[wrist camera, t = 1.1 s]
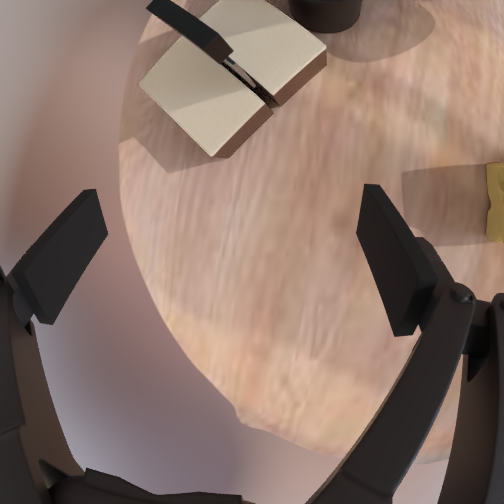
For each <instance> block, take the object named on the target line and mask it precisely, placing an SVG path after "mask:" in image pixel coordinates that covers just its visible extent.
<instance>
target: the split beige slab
mask: <svg viewBox="0 0 504 504" xmlns="http://www.w3.org/2000/svg"><path fill="white" fill-rule="evenodd" d="M199 20H201V21H202V22H204V23H205V24H206V25H208V26H209V27H211V28H212V29H213V30H215V31H216V32H218V33H219V34H220V35H221V36H222V38H223V39H224V40H225V41H226V42H227V43H228V44H229V46H230V47H231V48H232V49H233V50H234V51H233V52H232V53H231V54H230V55H229V57H230V58H231V59H232V60H234V61H235V62H236V63H237V64H238V65H239V66H240V67H241V69H242V70H243V71H244V72H245V73H246V74H247V75H248V76H249V78H250V79H251V80H252V81H253V82H254V83H255V84H256V85H257V86H259V87H260V88H261V89H262V90H263V91H264V92H265V93H266V94H267V95H269V96H270V97H271V98H272V99H273V100H274V101H275V102H276V103H277V104H278V105H279V106H282V105H283V104H284V103H285V102H286V101H287V100H288V99H289V98H291V97H292V96H293V95H294V94H295V93H296V92H297V91H298V90H299V89H300V88H301V87H303V86H304V85H305V84H306V83H307V82H308V81H309V80H310V79H312V78H313V77H314V76H315V75H316V74H317V73H318V72H319V71H321V70H322V69H323V68H324V67H325V66H326V65H327V57H326V45H325V44H324V43H322V42H321V41H320V40H319V39H318V38H316V37H315V36H314V35H312V34H311V33H310V32H309V31H307V30H306V29H305V28H303V27H302V26H301V25H299V24H298V23H297V22H295V21H294V20H293V19H291V18H290V17H288V16H287V15H286V14H284V13H283V12H281V11H280V10H279V9H277V8H276V7H274V6H273V5H271V4H270V3H268V2H267V1H265V0H219V1H218V2H217V3H216V4H215V5H213V6H212V7H211V8H210V9H209V10H208V11H207V12H206V13H205V14H204V15H202V16H201V17H200V18H199ZM138 85H139V86H140V87H141V88H142V89H143V90H144V91H145V92H146V93H147V94H148V95H149V96H150V97H151V98H152V99H153V100H154V101H155V102H156V103H157V104H158V105H159V106H160V107H161V108H162V109H163V110H164V111H165V112H166V113H167V114H168V115H169V116H170V117H171V118H172V119H174V120H175V121H176V122H177V123H178V124H179V125H180V126H181V127H182V128H183V129H184V130H185V131H186V132H187V133H188V134H189V135H190V136H191V137H192V138H193V139H194V141H195V142H196V143H197V144H198V145H199V146H200V147H201V148H202V149H203V150H204V151H205V152H206V153H207V154H208V155H209V156H212V157H222V158H229V157H230V156H231V155H232V154H233V153H234V152H235V151H236V150H237V149H238V148H239V147H240V146H241V145H242V144H243V143H244V142H245V141H246V140H247V139H248V138H249V137H250V136H251V135H252V134H253V133H254V132H255V131H256V130H257V129H258V128H259V127H260V126H261V125H262V124H263V123H264V122H265V121H266V120H267V119H268V118H269V117H270V116H272V115H273V114H274V113H273V111H272V110H271V109H270V108H269V107H268V106H267V105H266V104H265V103H264V102H263V101H262V100H261V99H260V98H259V97H258V96H257V95H256V94H255V93H253V92H252V91H251V90H250V89H249V88H248V87H247V86H246V85H244V84H243V83H242V82H241V81H240V80H239V79H238V78H236V77H235V76H234V75H233V74H232V73H231V72H229V71H228V70H227V69H226V68H225V67H223V66H222V65H221V64H220V65H219V64H218V63H217V62H215V61H214V60H213V59H212V58H210V57H209V56H208V55H207V54H205V53H204V52H203V51H202V50H200V49H199V48H198V47H197V46H195V45H194V44H193V43H191V42H190V41H189V40H187V39H186V38H185V37H183V36H181V37H180V38H179V39H178V40H177V41H176V42H175V43H174V44H173V45H172V46H171V47H170V48H169V50H168V51H167V52H166V53H165V54H164V55H163V56H162V57H161V58H160V59H159V60H158V62H157V63H156V64H155V65H154V66H153V67H152V68H151V70H150V71H149V72H148V73H147V74H146V75H145V77H144V78H143V79H142V80H141V81H140V83H139V84H138Z"/></svg>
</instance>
